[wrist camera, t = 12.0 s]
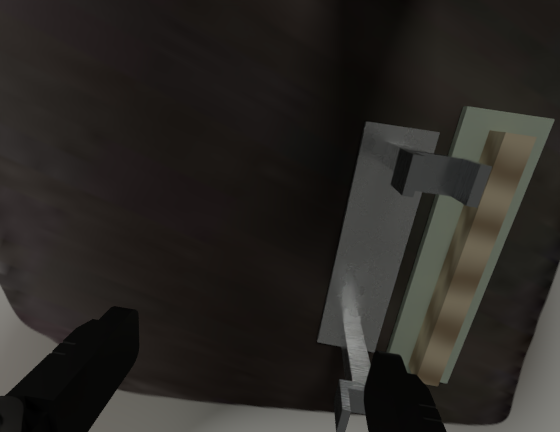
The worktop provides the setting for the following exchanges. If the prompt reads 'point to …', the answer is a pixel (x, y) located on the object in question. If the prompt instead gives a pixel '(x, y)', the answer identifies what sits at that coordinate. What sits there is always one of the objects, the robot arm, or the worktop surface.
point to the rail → (469, 254)
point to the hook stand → (382, 241)
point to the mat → (445, 220)
